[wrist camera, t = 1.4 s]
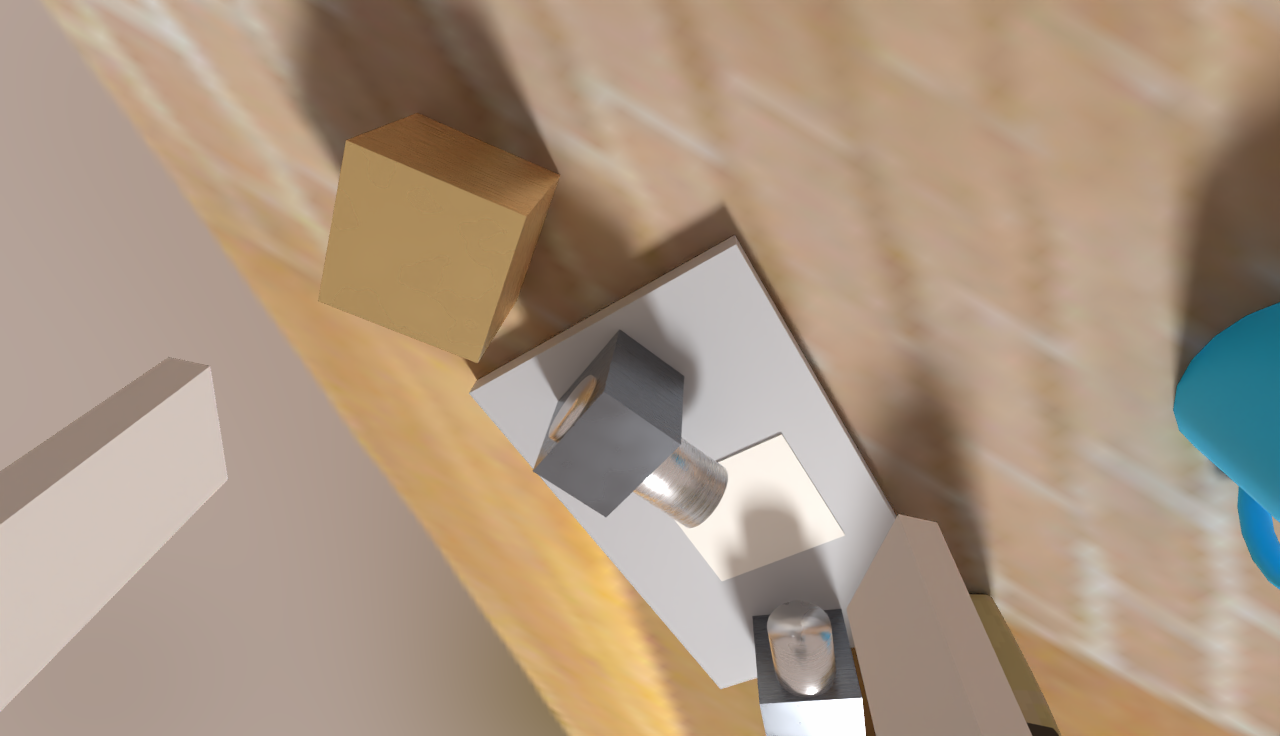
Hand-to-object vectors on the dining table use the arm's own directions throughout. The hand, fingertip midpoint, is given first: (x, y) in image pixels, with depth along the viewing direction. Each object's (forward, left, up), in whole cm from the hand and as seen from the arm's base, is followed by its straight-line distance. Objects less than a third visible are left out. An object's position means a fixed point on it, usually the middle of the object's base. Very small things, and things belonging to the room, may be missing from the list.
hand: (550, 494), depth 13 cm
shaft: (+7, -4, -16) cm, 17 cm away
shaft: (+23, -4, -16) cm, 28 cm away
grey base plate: (+14, -3, -17) cm, 22 cm away
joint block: (-4, -5, -17) cm, 18 cm away
